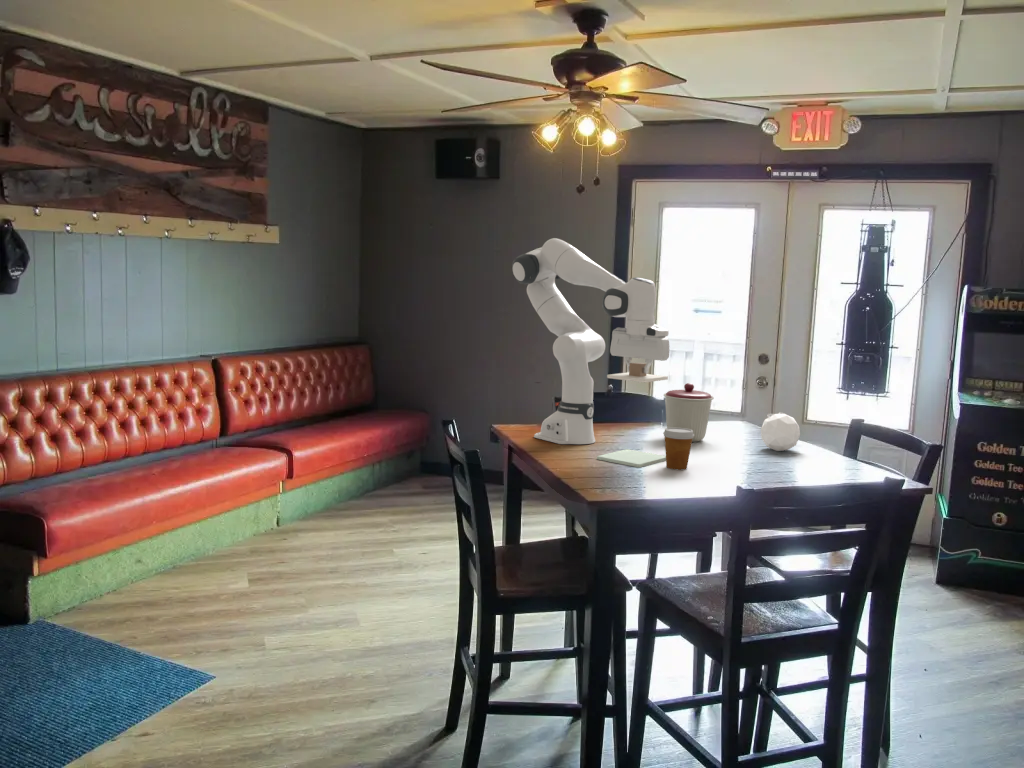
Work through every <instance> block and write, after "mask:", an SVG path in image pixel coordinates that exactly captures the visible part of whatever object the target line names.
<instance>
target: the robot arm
mask: <svg viewBox="0 0 1024 768" xmlns="http://www.w3.org/2000/svg"><path fill="white" fill-rule="evenodd" d="M511 273H512V275H513V278H514V279H515V281H516V282H518V283H519V284H522V285H527V287H526V294H527V296H528V299H529V300H530V303H531V305H532V307H533V308H534V310H535V312H536V313H537V315H538V316H539V318H540V319H541V320H542V322H543V324H544V325H545V326H546V328H547V329H548V331H549V332H550V333H552V334H554V335H555V336H557V338H556V339H555V340H554V342H553V345H552V352H553V353H552V354H553V356H554V357H555V358H556V360H557V361H558V364H559V368H560V374H561V381H562V383H561V384H562V385H561V400H560V401H558V402H555V403H554V404H555V405H554V406H555V407H557V409H556V411H555V412H553V413H552V414H550V415H549V416H548V417H547V418H544V420H543V421H542V423H541V425H540V427H541V428H540V432H536V433H534V435H533V438H536V439H539V440H543V441H547V442H551V443H555V444H558V445H588V444H594V443H596V438H595V433H594V423H593V422H594V421H593V420H594V419H593V417H594V412H595V411H594V410H595V405H594V404H595V403H594V401H593V400H594V385H595V383H594V381H595V380H594V378H593V377H592V376H591V373H590V369H589V364H588V363H590V362H594V361H596V360H598V359H599V358H600V357H602V356H603V355H604V354H605V351H606V342H605V339H604V338H603V336H602V335H600V334H599V333H597V332H596V331H594V330H593V328H591V327H590V326H589V325H588V323H586V322H585V321H584V320H583V319H582V318H580V317H579V315H577V313H576V312H575V310H573V308H572V307H571V305H570V304H569V302H568V301H567V299H566V298H565V296H564V295H563V294H562V292H561V291H560V290H559V288H558V287H557V285H556V280H560V279H562V280H563V281H564V282H567V283H570V284H571V285H575V286H583V287H592V288H595V289H598V290H599V289H600V290H601V291H603V292H605V293H604V294H603V296H602V299H601V305H602V310H603V311H604V313H605V314H606V315H608V316H609V317H614V318H626V327H619V326H618V327H616V328H614V329H613V330H612V334H611V342H610V347H609V348H610V350H609V353H610V354H611V356H613V357H615V356H616V357H623V358H624V362H625V364H626V366H627V367H626V368H627V372H629V367H630V363H632V360H633V359H641V360H642V359H643V360H645V362H644V363H647V364H646V365H645V367H643V368H642V373H646V374H649V371H650V367H651V366H652V364H653V361H659V362H660V361H667V360H668V359H669V358H670V341H669V338H668V336H669V330H668V329H666V328H665V327H662V326H660V325H658V324H656V323H655V322H656V319H655V318H656V317H655V310H656V307H657V289H656V284H655V282H654V281H653V280H651V279H648V278H642V277H631V279H629V280H628V281H627V282H626V281H624V280H623V279H621V278H620V277H618V276H616V275H615V274H614V273H612V272H610V271H608V270H606V269H605V268H604V267H602V266H601V265H599V264H598V263H597V262H595V261H593V260H592V259H591V258H590V257H589V256H587V255H585V253H583V252H582V251H581V250H579V249H578V248H576V247H575V246H573V245H572V244H570V243H569V242H566V241H565V240H563V239H561V238H556V237H553V238H550V239H548V240H546V241H545V242H544V243H543V245H542V246H541V247H539V248H538V247H537V248H535V249H534V250H530V251H528V252H526V253H522V254H520V255H518V256H517V257H515V258H514V259H513V261H512V264H511Z"/></svg>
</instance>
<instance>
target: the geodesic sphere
mask: <svg viewBox="0 0 1024 768" xmlns="http://www.w3.org/2000/svg"><path fill="white" fill-rule="evenodd" d="M766 416H767V418H765V419H764V420H763V422H762V426H761V427H760V436H761V440H762V441H763V442H764V444H765V446H766V447H767V448H769V449H771V450H773V451H776V452H781V451H782V452H784V450H785V451H789V450H790V449H792V448H793V447H795V446H796V445H797V444H798V441H799V440H800V439H799V438H800V436H801V431H800V425H799V424H798V423H797V421H796V419H795V418H794V417H793V416H790V415H788V414H786V413H784V412H782V411H779V412H778V413H767V415H766Z"/></svg>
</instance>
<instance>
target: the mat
mask: <svg viewBox="0 0 1024 768" xmlns="http://www.w3.org/2000/svg"><path fill="white" fill-rule="evenodd" d="M596 460H600V461H604V462H610V463H614V464H620V465H625V466H629V467H635V468H642V467H643V468H644V467H647V466H650V465H653V464H657V463H661V461H662V462H666V455H663V454H658V453H656V454H655V453H652V452H645V451H640V450H633V449H629V448H626V449H622V450H617V451H613V452H609V453H604V454H600V455H597V456H596Z"/></svg>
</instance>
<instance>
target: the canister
mask: <svg viewBox="0 0 1024 768" xmlns="http://www.w3.org/2000/svg"><path fill="white" fill-rule="evenodd" d="M694 389H695V385H694V384H693V383H691V382H688V383H685V384H684V386H683V389H671V390H668V391H666V392H665V393H663V397H664V400H665V401H664V402H665V420H666V428H686V429H690V430H693V434H694V436H693V438H692V443H697V442H701V441H703V440H704V438H705V436H706V434H707V428H708V422H709V418H710V411H711V407H712V401H713V400H714V396H713V395H711V394H710V393H708V392H705V391H701V390H694Z"/></svg>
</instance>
